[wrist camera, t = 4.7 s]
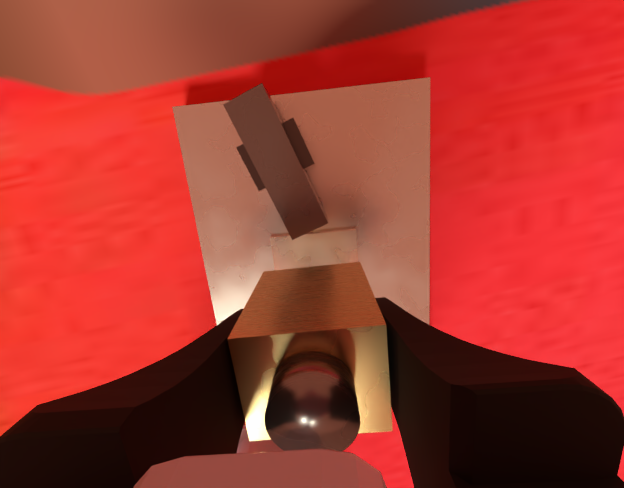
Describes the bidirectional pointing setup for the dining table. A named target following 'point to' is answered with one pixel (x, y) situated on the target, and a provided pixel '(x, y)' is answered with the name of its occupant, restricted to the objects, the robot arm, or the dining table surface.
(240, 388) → the tan block with knob
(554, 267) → the dining table surface
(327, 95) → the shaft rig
